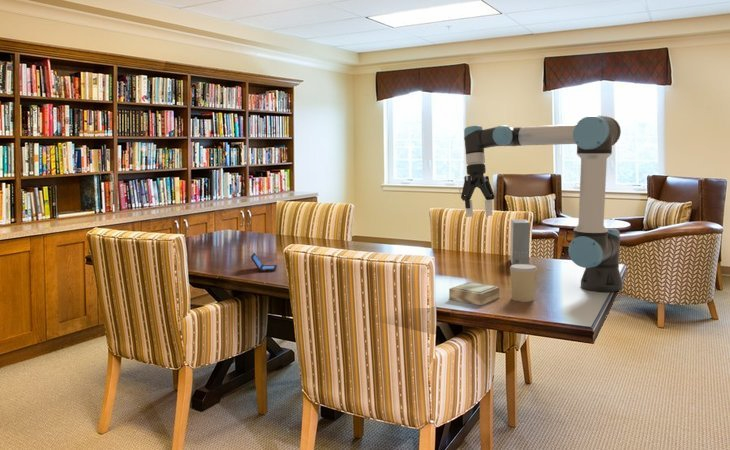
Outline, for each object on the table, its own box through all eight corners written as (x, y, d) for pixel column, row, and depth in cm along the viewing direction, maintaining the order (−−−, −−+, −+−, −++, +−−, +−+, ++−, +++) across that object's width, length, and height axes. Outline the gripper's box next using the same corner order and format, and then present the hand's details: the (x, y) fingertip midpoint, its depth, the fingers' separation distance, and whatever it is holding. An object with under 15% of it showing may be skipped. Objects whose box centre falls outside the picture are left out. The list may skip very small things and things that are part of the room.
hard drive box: (529, 265, 272) (530, 222, 270) (512, 265, 274) (512, 222, 271) (526, 259, 287) (526, 218, 285) (509, 259, 289) (510, 218, 286)
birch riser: (499, 297, 215) (499, 286, 215) (481, 305, 206) (481, 293, 205) (468, 292, 224) (468, 281, 223) (449, 299, 214) (449, 287, 214)
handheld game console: (275, 272, 268) (274, 256, 267) (251, 273, 267) (250, 257, 267) (277, 267, 281) (276, 251, 280) (254, 267, 280) (253, 252, 279)
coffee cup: (539, 297, 215) (540, 265, 213) (531, 303, 207) (532, 269, 205) (514, 294, 220) (514, 262, 218) (505, 300, 212) (506, 267, 210)
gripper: (485, 166, 254) (489, 215, 253) (449, 164, 236) (453, 217, 236) (500, 164, 248) (504, 214, 248) (465, 162, 231) (469, 216, 231)
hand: (479, 216), depth 242 cm, fingers open, 13 cm apart
